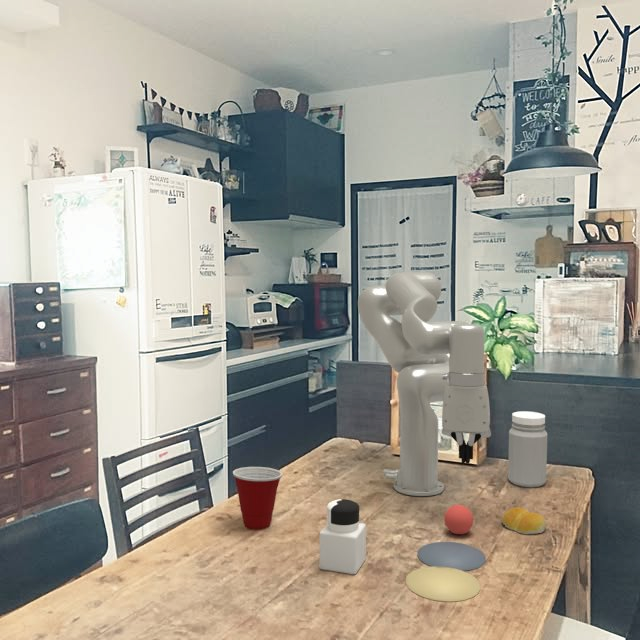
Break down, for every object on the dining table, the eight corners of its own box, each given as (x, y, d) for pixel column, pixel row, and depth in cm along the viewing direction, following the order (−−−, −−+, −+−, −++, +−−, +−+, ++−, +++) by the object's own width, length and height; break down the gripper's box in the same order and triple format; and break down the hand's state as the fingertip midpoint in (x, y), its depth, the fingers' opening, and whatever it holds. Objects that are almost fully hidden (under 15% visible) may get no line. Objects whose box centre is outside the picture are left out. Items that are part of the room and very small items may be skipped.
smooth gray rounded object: (411, 565, 127) (411, 564, 127) (423, 539, 139) (423, 538, 139) (482, 575, 123) (482, 574, 123) (488, 547, 135) (488, 546, 135)
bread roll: (532, 539, 140) (533, 520, 140) (496, 526, 147) (496, 508, 147) (554, 529, 146) (554, 511, 145) (517, 517, 152) (518, 500, 152)
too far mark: (399, 594, 116) (399, 593, 116) (412, 563, 128) (412, 562, 128) (476, 606, 112) (476, 605, 112) (483, 573, 124) (483, 572, 124)
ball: (442, 536, 141) (442, 508, 140) (446, 526, 146) (446, 499, 146) (471, 540, 139) (472, 512, 138) (474, 529, 144) (474, 502, 144)
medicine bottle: (366, 559, 130) (366, 498, 129) (355, 575, 123) (356, 511, 122) (330, 554, 132) (331, 494, 131) (318, 569, 125) (319, 506, 124)
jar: (550, 480, 178) (552, 413, 177) (540, 491, 170) (542, 420, 168) (513, 474, 183) (515, 409, 182) (502, 484, 175) (504, 415, 174)
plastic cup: (293, 524, 147) (293, 470, 146) (255, 539, 139) (255, 482, 138) (259, 512, 155) (259, 460, 154) (222, 525, 147) (222, 471, 146)
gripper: (429, 381, 148) (429, 463, 149) (500, 383, 143) (499, 469, 144) (435, 376, 155) (434, 455, 156) (502, 378, 150) (501, 460, 151)
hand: (465, 461), depth 150 cm, fingers closed
